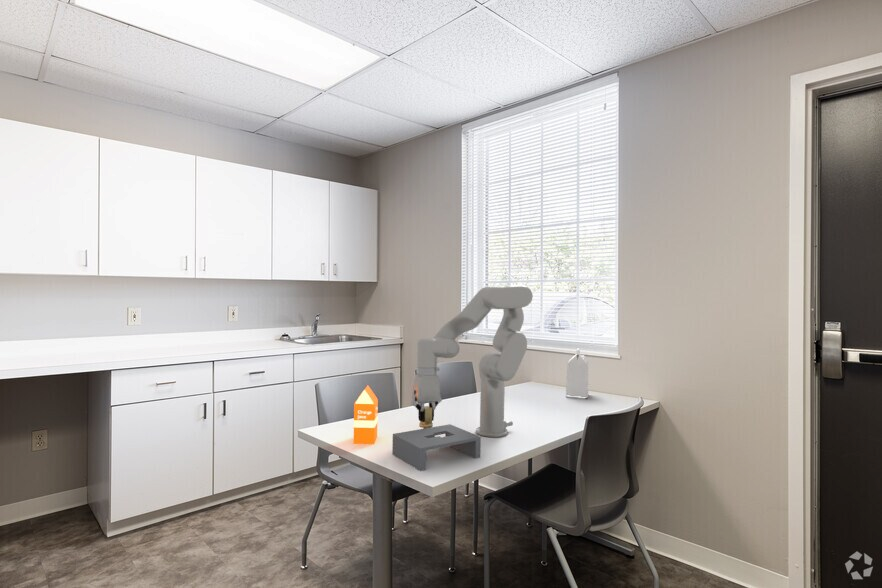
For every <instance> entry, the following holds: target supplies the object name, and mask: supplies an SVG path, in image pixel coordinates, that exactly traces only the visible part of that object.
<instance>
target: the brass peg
mask: <svg viewBox="0 0 882 588" xmlns="http://www.w3.org/2000/svg"><path fill="white" fill-rule="evenodd" d="M424 411H425V421H424V422H421V421H419V426H418V427H420V428H421V429H425V428H431V427H434V426H433V425H434V423H433V421H432V407H429V405H427V406H425V405H424Z"/></svg>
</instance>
